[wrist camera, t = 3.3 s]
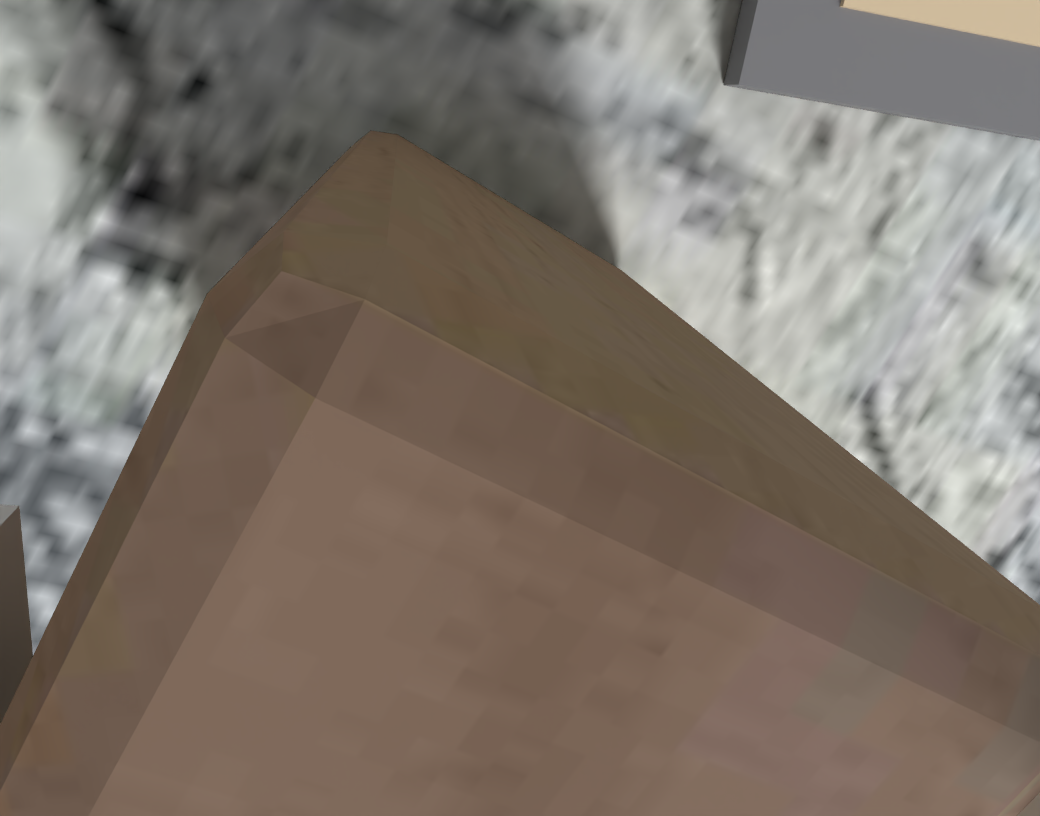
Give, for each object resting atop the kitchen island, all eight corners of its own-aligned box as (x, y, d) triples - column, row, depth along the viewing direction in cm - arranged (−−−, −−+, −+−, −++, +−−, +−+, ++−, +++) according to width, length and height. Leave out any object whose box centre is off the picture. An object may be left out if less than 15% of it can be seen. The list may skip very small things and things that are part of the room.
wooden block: (226, 392, 26) (-214, 1142, 7) (367, 114, 23) (235, 192, 5) (487, 512, 29) (640, 1256, 10) (637, 278, 26) (1191, 711, 8)
